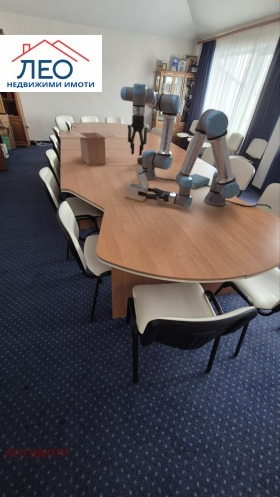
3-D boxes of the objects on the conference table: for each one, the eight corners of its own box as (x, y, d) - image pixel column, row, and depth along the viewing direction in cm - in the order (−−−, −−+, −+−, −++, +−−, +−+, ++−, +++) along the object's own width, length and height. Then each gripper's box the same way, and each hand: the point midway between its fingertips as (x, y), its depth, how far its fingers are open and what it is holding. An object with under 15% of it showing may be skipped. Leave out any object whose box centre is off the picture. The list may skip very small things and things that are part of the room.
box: (116, 165, 229) (116, 136, 213) (83, 168, 214) (80, 137, 198) (102, 154, 259) (101, 128, 243) (71, 156, 244) (68, 129, 228)
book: (194, 178, 210) (195, 173, 207) (209, 183, 201) (210, 178, 198) (179, 183, 196) (180, 178, 193) (194, 189, 188) (196, 183, 185)
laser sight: (156, 166, 234) (157, 157, 228) (136, 164, 237) (136, 154, 231) (158, 164, 241) (159, 154, 236) (138, 162, 244) (138, 152, 238)
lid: (135, 170, 151) (145, 166, 146) (140, 166, 158) (150, 162, 153) (142, 189, 156) (152, 186, 152) (148, 185, 163) (157, 182, 159)
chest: (125, 197, 166) (126, 186, 160) (131, 193, 173) (132, 182, 168) (142, 201, 162) (143, 190, 156) (147, 197, 169) (148, 186, 163)
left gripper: (122, 113, 136) (122, 153, 150) (149, 116, 130) (146, 158, 144) (128, 112, 141) (127, 151, 155) (154, 115, 136) (150, 155, 150)
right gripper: (163, 208, 150) (134, 200, 157) (173, 197, 166) (146, 190, 173) (165, 197, 145) (134, 190, 152) (175, 187, 162) (147, 181, 169)
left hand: (136, 154), depth 150 cm, fingers open, 5 cm apart
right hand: (141, 190), depth 163 cm, fingers closed on chest, 9 cm apart
